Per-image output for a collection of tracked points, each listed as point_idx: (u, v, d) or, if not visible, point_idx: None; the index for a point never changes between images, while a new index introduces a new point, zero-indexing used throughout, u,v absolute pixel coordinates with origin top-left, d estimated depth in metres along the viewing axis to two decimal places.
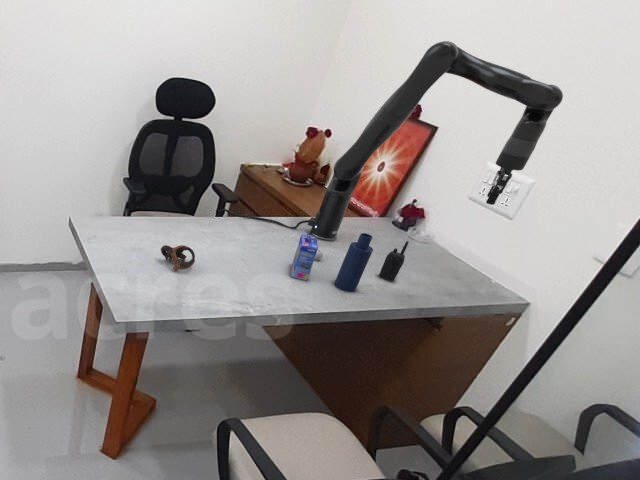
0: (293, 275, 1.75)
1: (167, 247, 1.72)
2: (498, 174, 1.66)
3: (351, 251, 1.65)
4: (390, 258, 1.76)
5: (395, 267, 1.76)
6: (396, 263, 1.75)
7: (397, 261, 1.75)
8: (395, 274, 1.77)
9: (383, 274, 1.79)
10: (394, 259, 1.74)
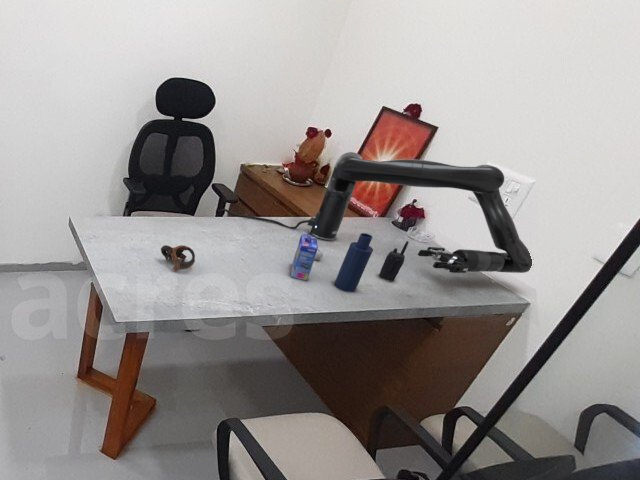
0: (293, 275, 1.75)
1: (167, 247, 1.72)
2: (457, 258, 1.75)
3: (351, 251, 1.65)
4: (390, 258, 1.76)
5: (395, 267, 1.76)
6: (396, 263, 1.75)
7: (397, 261, 1.75)
8: (395, 274, 1.77)
9: (383, 274, 1.79)
10: (394, 259, 1.74)
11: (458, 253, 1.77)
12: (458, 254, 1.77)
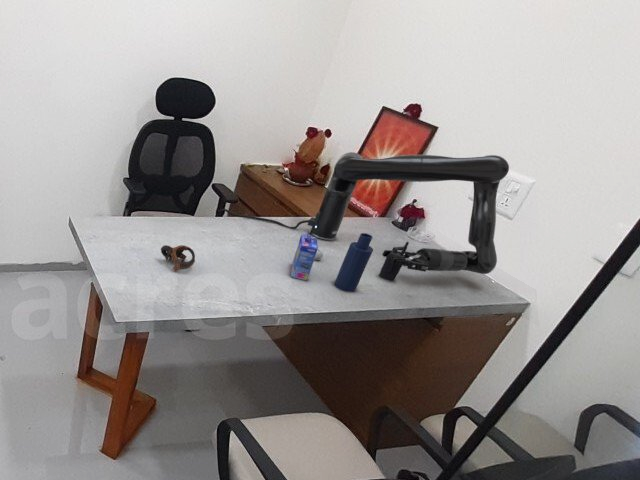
0: (293, 275, 1.75)
1: (167, 247, 1.72)
2: (419, 257, 1.74)
3: (351, 251, 1.65)
4: (390, 258, 1.76)
5: (395, 267, 1.76)
6: None
7: None
8: (395, 274, 1.77)
9: (383, 274, 1.79)
10: None
11: (422, 252, 1.77)
12: (422, 253, 1.77)
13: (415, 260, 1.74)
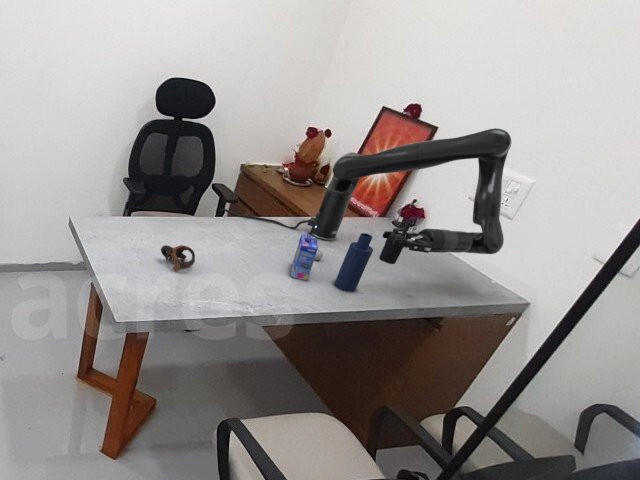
0: (293, 275, 1.75)
1: (167, 247, 1.72)
2: (422, 238, 1.64)
3: (351, 251, 1.65)
4: (391, 240, 1.66)
5: (396, 249, 1.66)
6: None
7: None
8: (396, 257, 1.68)
9: (383, 257, 1.70)
10: None
11: (424, 233, 1.67)
12: (424, 233, 1.67)
13: (417, 241, 1.64)
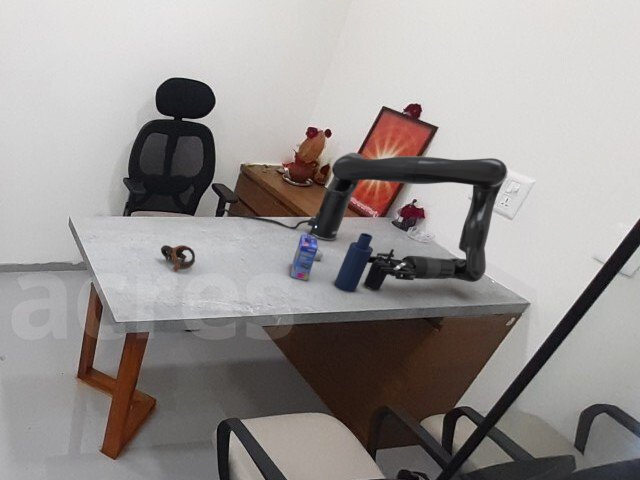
0: (293, 275, 1.75)
1: (167, 247, 1.72)
2: (405, 265, 1.67)
3: (351, 251, 1.65)
4: (375, 266, 1.69)
5: (380, 276, 1.69)
6: None
7: None
8: (380, 283, 1.71)
9: (368, 283, 1.73)
10: (379, 267, 1.68)
11: (407, 259, 1.70)
12: (407, 260, 1.70)
13: (402, 269, 1.67)
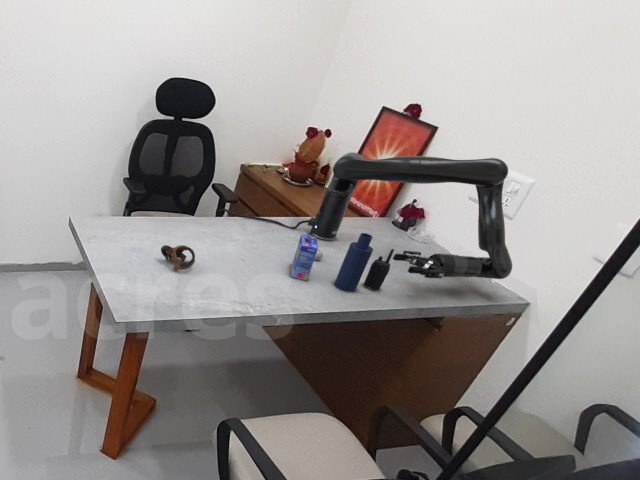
0: (293, 275, 1.75)
1: (167, 247, 1.72)
2: (433, 263, 1.68)
3: (351, 251, 1.65)
4: (375, 266, 1.69)
5: (380, 276, 1.69)
6: (381, 272, 1.69)
7: (382, 269, 1.68)
8: (380, 283, 1.71)
9: (368, 283, 1.73)
10: (379, 267, 1.68)
11: (434, 257, 1.70)
12: (434, 258, 1.70)
13: (430, 267, 1.67)
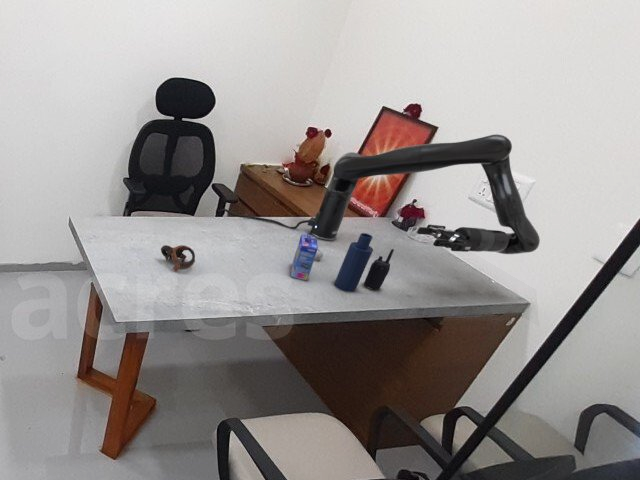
0: (293, 275, 1.75)
1: (167, 247, 1.72)
2: (459, 236, 1.63)
3: (351, 251, 1.65)
4: (375, 266, 1.69)
5: (380, 276, 1.69)
6: (381, 272, 1.69)
7: (382, 269, 1.68)
8: (380, 283, 1.71)
9: (368, 283, 1.73)
10: (379, 267, 1.68)
11: (460, 231, 1.65)
12: (460, 232, 1.65)
13: (456, 240, 1.62)
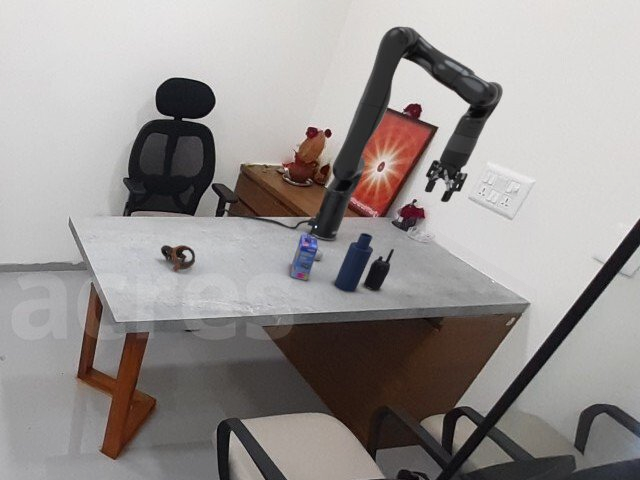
0: (293, 275, 1.75)
1: (167, 247, 1.72)
2: (447, 172, 1.67)
3: (351, 251, 1.65)
4: (375, 266, 1.69)
5: (380, 276, 1.69)
6: (381, 272, 1.69)
7: (382, 269, 1.68)
8: (380, 283, 1.71)
9: (368, 283, 1.73)
10: (379, 267, 1.68)
11: None
12: None
13: (451, 177, 1.66)
